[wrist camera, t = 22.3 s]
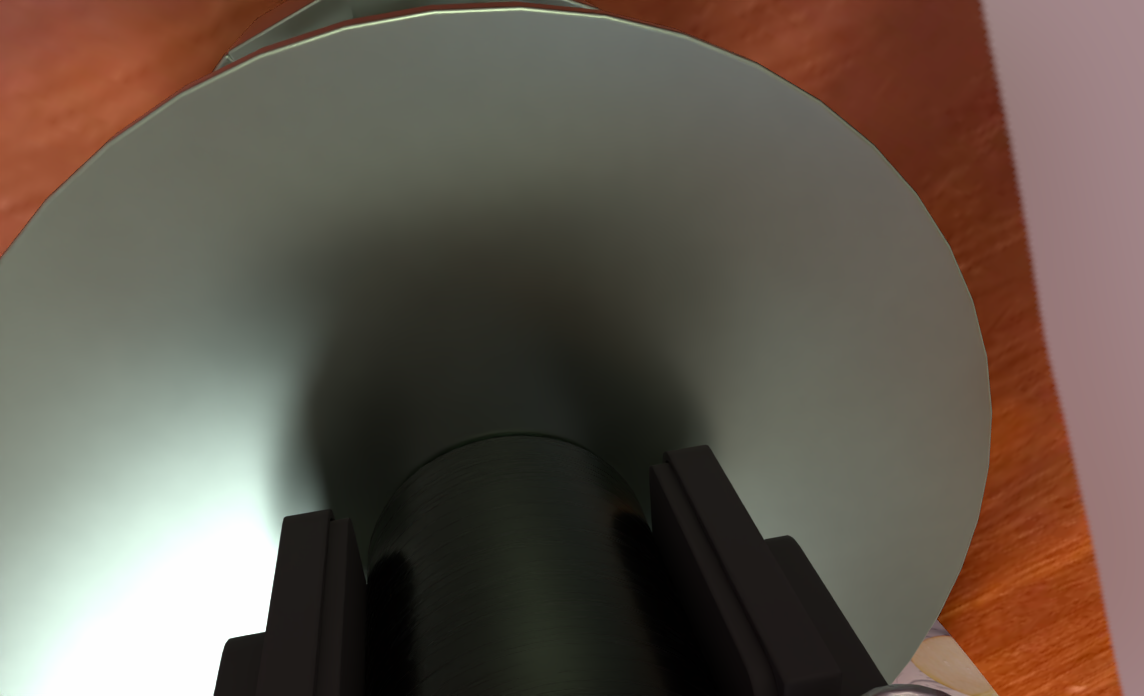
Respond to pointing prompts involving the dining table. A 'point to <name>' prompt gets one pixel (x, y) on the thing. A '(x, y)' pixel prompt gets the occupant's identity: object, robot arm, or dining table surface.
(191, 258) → the lid
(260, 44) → the pan
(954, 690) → the juice carton
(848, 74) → the dining table surface
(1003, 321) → the dining table surface
